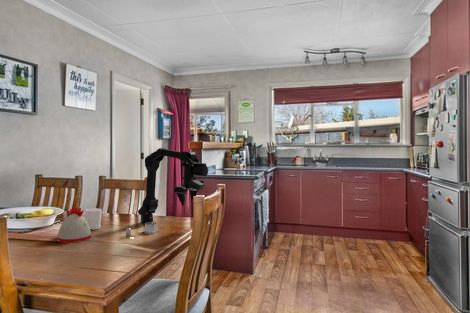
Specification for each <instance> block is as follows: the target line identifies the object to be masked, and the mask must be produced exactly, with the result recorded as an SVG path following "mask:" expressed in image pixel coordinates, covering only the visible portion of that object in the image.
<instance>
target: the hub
mask: <svg viewBox="0 0 470 313" xmlns="http://www.w3.org/2000/svg"><path fill="white" fill-rule="evenodd" d="M131 230H132V229H131V227H127V228H126V229H125V235H122V236H120V239H122V240H132V239H136V237H137V236H136V235H134V234H132V233H131Z"/></svg>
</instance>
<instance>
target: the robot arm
mask: <svg viewBox="0 0 470 313" xmlns="http://www.w3.org/2000/svg"><path fill="white" fill-rule="evenodd" d="M165 157H169V158H174V159H178V160H179V161H180V162H181V161H182V163H181V164H180V165H179V166H180V167H183V176H181V180H183V181H182V182H183V183H182V184H181V185H178V186H174V187H173V193H175V194H176V196H177V198H178V200H179V202H180V204H181V206H182V207H184V206H185V202H186V196H187V195H188V191H189V195H190V201H191V202H192V199H193V196H196V195H198V194H199V193H200V192H201V191H202V190H203V189H204V187H206V182H205V180H203V179H202V180H197V177H207V176H208V174H209V167H208V165H207V163H206V162H204V163H203V162H202V163H201V161H200V160H199V159H198V156H197V153H196V152H195V151H178V150H172V149H169V148H168V149H167V148H164V147H163V148H162V147H161V148H160V147H159V148H158V149H156V150H155V151H153V152H152V153H149V155H147V156H146V157H144V167H145V169H146V172H147V176H146V187H145V189H146V191H145V197H144V199H143V201H142V203H141V204H142V205H141V207H140V208H139V209H138V211H137V213H138V215H139V216H140V224H142V225H145V223H147V222H154V215H153V214H156V211H157V209H158V207H159V199H157V198H156V185H157V183H156V182H157V171H158V169H159V168H160V166H161V162H162V161H163V160H164V158H165ZM196 176H197V177H196ZM196 197H197V196H196Z"/></svg>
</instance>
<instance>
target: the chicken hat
mask: <svg viewBox="0 0 470 313" xmlns="http://www.w3.org/2000/svg"><path fill="white" fill-rule="evenodd" d="M66 213H67V216H66V217H65V219H64V220H63V221H62V223H61V225H60V227H59V230H58V233H57V238H58V240H59V241H58V240H57V241H58V243H59V242H60V243H65V244H69V243H80V242H84V241H88V240H90V239H91V237H92V234H91V233H92V230H90V228H89V223H88V222H87V221H86V217H84V216H83V213H84V210H82V207H79V208H78V206H76V207H75V206H72V208H70V209H69V211H67V212H66Z"/></svg>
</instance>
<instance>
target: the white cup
mask: <svg viewBox="0 0 470 313" xmlns="http://www.w3.org/2000/svg"><path fill="white" fill-rule="evenodd" d="M102 211H103V209H102V208H87V209H85V219H86V221H87V222H88V223H89V228H90V229H92V230H91V231H94V230H99V229H101V222H102Z"/></svg>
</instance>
